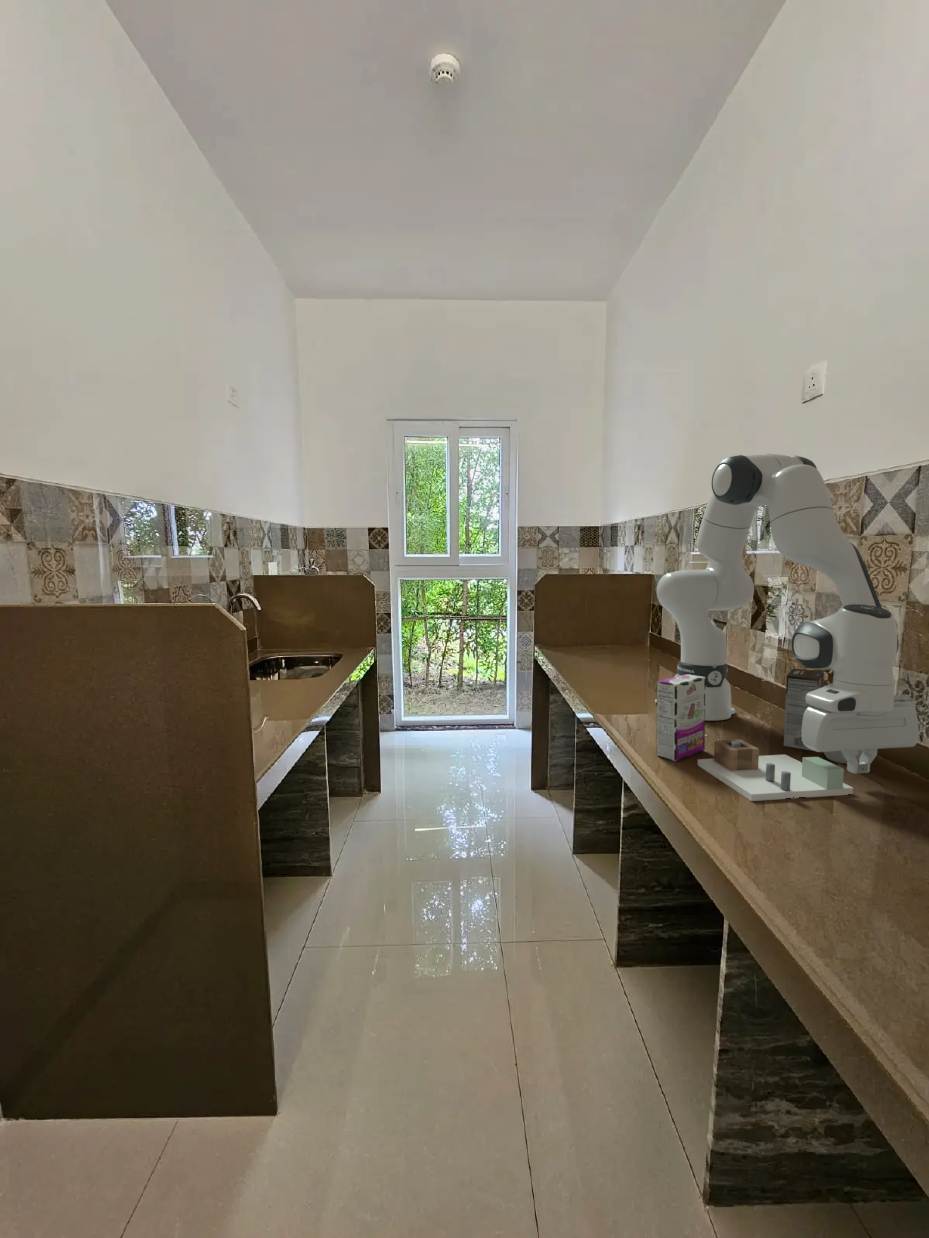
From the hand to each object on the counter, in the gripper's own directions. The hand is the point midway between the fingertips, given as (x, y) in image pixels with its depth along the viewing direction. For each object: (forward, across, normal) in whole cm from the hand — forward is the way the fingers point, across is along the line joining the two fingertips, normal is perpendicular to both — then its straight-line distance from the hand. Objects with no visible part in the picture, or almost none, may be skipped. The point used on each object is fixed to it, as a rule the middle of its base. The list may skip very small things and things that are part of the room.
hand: (858, 771), depth 97 cm
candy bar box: (+3, +22, -21) cm, 31 cm away
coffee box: (+3, -8, -23) cm, 24 cm away
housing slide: (+2, +7, 0) cm, 7 cm away
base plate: (+3, +13, -6) cm, 14 cm away
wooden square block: (+1, +17, -10) cm, 20 cm away
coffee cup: (+3, -8, -13) cm, 16 cm away
